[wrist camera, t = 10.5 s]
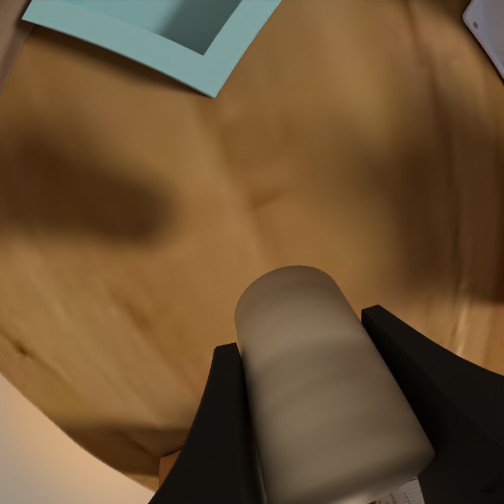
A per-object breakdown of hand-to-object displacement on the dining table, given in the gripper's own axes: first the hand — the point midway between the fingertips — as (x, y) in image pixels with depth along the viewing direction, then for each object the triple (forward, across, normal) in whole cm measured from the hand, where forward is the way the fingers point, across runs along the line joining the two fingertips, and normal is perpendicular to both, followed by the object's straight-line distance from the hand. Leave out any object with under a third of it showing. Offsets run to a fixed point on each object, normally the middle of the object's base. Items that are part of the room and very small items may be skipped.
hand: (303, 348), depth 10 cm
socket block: (+9, +1, -14) cm, 17 cm away
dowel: (+2, 0, 0) cm, 2 cm away
